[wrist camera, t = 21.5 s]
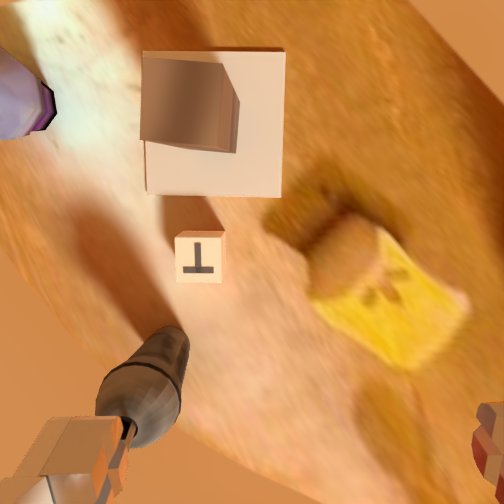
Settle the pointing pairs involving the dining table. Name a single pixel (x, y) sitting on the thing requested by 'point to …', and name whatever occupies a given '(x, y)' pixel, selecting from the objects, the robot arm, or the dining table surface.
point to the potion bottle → (22, 100)
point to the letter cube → (200, 256)
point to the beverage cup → (147, 388)
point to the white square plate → (248, 140)
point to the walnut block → (188, 105)
